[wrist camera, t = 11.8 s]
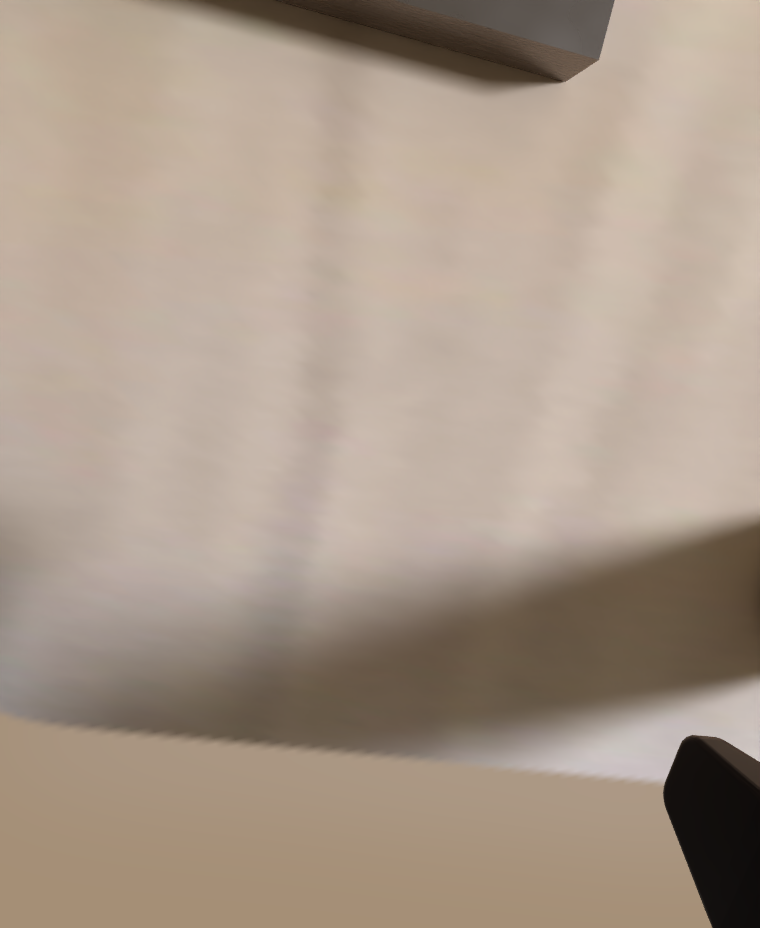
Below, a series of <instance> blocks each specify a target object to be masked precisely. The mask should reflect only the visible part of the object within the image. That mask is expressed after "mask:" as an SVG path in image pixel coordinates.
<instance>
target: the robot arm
mask: <svg viewBox="0 0 760 928" xmlns="http://www.w3.org/2000/svg"><path fill="white" fill-rule="evenodd" d="M663 796H664V803H665V807H666V810H667V812H668V815H669V818H670V820H671V823H672V825H673V828H674V831H675V833H676V836H677V838H678V841H679V844H680V846H681V849H682V851H683V854H684V856H685V859H686V861H687V864H688V867H689V869H690V872H691V874H692V877H693V880H694V882H695V885H696V887H697V890H698V893H699V895H700V898H701V900H702V903H703V905H704V908H705V911H706V913H707V916H708V918H709V920H710V923H711V925H712V928H760V762H759V761H757V760H755V759H754V758H752V757H751V756H749V755H747V754H746V753H744V752H742V751H741V750H739V749H737V748H736V747H734V746H733V745H731V744H729V743H728V742H726V741H724V740H722V739H720V738H717V737H708V736H697V735H691V736H688V737H686V738H685V739H684V740H683V741H682V743H681V745H680V747H679V749H678V752H677V754H676V757H675V759H674V762H673V764H672V767H671V769H670V772H669V774H668V777H667V779H666V781H665V785H664V791H663Z"/></svg>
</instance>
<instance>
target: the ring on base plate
mask: <svg viewBox="0 0 760 928" xmlns="http://www.w3.org/2000/svg"><path fill="white" fill-rule="evenodd" d="M277 1H281V2H284V3H288V4H291V5H295V6H298V7H302V8H305V9H309V10H313V11H316V12H320V13H323V14H327V15H330V16H334V17H337V18H341V19H345V20H348V21H352V22H355V23H359V24H362V25H366V26H369V27H373V28H376V29H380V30H384V31H387V32H391V33H394V34H398V35H401V36H405V37H408V38H412V39H415V40H419V41H423V42H426V43H430V44H433V45H437V46H440V47H444V48H447V49H451V50H454V51H458V52H462V53H465V54H469V55H472V56H476V57H479V58H483V59H486V60H490V61H493V62H497V63H501V64H504V65H508V66H511V67H515V68H518V69H522V70H525V71H529V72H533V73H536V74H540V75H543V76H547V77H550V78H554V79H557V80H561V81H564V82H566V81H567V80H569V79H570V78H572V77H574V76H575V75H577V74H578V73H580V72H581V71H583V70H584V69H586V68H587V67H589V66H590V65H592V64H593V63H595V62H596V61H598V60H599V57H600V53H601V50H602V46H603V42H604V38H605V35H606V31H607V27H608V23H609V19H610V16H611V12H612V8H613V4H614V0H277Z"/></svg>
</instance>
